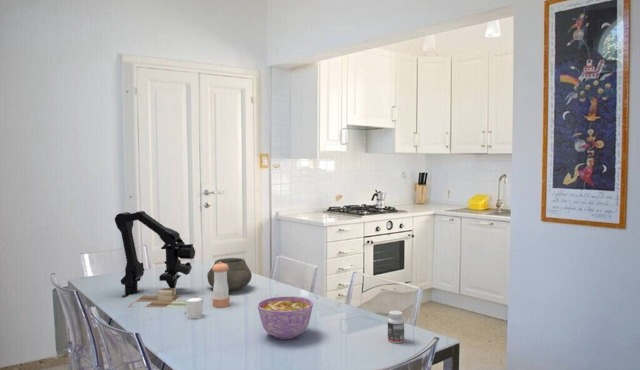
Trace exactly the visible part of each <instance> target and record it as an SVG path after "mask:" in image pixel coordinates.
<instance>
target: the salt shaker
mask: <svg viewBox="0 0 640 370" xmlns="http://www.w3.org/2000/svg"><path fill="white" fill-rule="evenodd" d="M211 268H212V270H213V271H214V287H212V291H213V292H212V293H213V295H212V296H213V297H212V307H213V308H227V307H229V306H230V299H231V297H230V296H229V292H230V291H229V289H228V283H227V271H228V265H227V264H224V263H222V262H219V263H218V264H215V265H214V264H213V265H212V266H211Z"/></svg>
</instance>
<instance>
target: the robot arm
mask: <svg viewBox="0 0 640 370" xmlns="http://www.w3.org/2000/svg"><path fill="white" fill-rule="evenodd" d="M134 221H135V222H136V221H138V222H140V223H142V224H143V225H144V226H146V228H148V229H150V230H151V231H152V232H154V233H155V234H157V235H158V237H159V238H160V240H161V241H162V242H163V243H164V244H163V245H162V247H160V250H165V261H164V265H165V268H166V269H165V270H164V272H162V273H161V274H160V275H159V278H158V279H159V281H161V282H166V284H167V285H168V288H176V286H177V284H178V283H177V282H178V280H179V279H180V278H181V277H182V275H179V273H181V274H184V276H188V275H189V274H191V270H192V269H193V268H192V267H193V266H192V264H191V262H189V261H187V262H185V263H182V262H181V259H183V260H194V259H195V256H196V250H195V247H194V244H193V243H187V244H185V242H184V241H183V240H182V238H181V236H180V233H179V232H178V231H177V230H174V229H172V228H170V227H166V226H164V225H163V224H161V223H160V222H159V221H157V220H156V219H155V218H153V217H152V216H151V215H149V214H148V213H147V212H146V211H144V210H139V211H136V212H132V213H131V212H128V211H127V212H126V211H125V212H120V213H118V214H116V215H115V217H114V222H115V226H116V227H117V229H118V231H119V232H120V234H121V238H122V243H123V249H124V250H123V251H124V254H125V260H126V264H125V265H126V266H125V268H124V269H125V271H124V272H125V273H124V274H125V275H124V276H123V277H122V279H120V283H121V285H123V286H124V294H123V295H121V298H127V297H129V296H130V295H134V294H137V293H138V292H139V290H138V287H139V286H138V285H139V284H138V282H140V281H141V278H142V277H143V276H144V274H145V271H146V270H145V268H144V262H140V261H139V259H138V256H137V250H136V246H135V245H136V244H135V240H134V236H133V227H134Z"/></svg>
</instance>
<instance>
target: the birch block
mask: <svg viewBox="0 0 640 370" xmlns="http://www.w3.org/2000/svg"><path fill="white" fill-rule="evenodd" d="M176 289H177V288H176V287H175V288H170V287H163V288H160V289H159V290H158V291H157V296H158V300H172V299H174V298H175V297H176V296H177V292H176V291H177V290H176Z"/></svg>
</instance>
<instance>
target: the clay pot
mask: <svg viewBox="0 0 640 370" xmlns="http://www.w3.org/2000/svg"><path fill="white" fill-rule="evenodd" d="M219 262H222V263H224V264H227V265H228V271H227V283H228V289H229V292H234V291H239V290H242V289H244V288H245V287H247V285H249V284H250V282H251V280H252V275H253V274H252V271H251V270H250V268H249V267H248V264H247V263H246V261H245V259H244V258H241V257H225V258H219V259H216V260H215V261H214V263H213V265H215V264H218V263H219ZM206 278H207V281H208V282H207V283H208V285H210V286H211V287H212V288H213V287H214V271H213V270H212V267H211V268H210V269H209V270H208V272H207V277H206Z"/></svg>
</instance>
